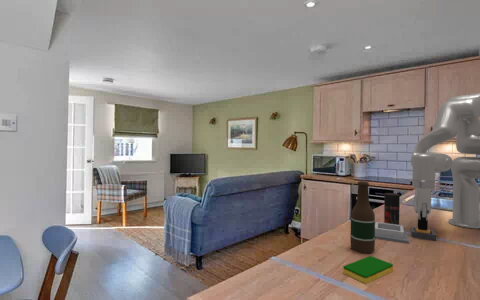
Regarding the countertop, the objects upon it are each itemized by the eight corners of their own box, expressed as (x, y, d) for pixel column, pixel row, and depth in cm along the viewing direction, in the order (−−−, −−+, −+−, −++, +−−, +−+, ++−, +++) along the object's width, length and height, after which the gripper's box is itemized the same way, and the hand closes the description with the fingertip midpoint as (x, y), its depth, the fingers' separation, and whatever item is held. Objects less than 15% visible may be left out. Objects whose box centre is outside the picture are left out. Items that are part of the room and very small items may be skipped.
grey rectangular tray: (372, 228, 118) (372, 220, 118) (406, 233, 111) (406, 224, 111) (369, 237, 106) (370, 228, 106) (408, 243, 99) (408, 234, 99)
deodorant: (401, 229, 116) (401, 195, 115) (386, 228, 117) (387, 195, 117) (396, 225, 122) (396, 193, 121) (382, 224, 123) (382, 192, 122)
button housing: (410, 231, 113) (410, 226, 113) (433, 234, 109) (433, 229, 109) (411, 237, 106) (411, 231, 106) (436, 240, 102) (436, 235, 102)
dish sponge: (342, 274, 76) (342, 266, 76) (370, 263, 84) (370, 255, 84) (365, 285, 70) (365, 276, 70) (393, 272, 78) (393, 264, 78)
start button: (414, 231, 111) (415, 226, 111) (429, 233, 109) (429, 228, 109) (415, 235, 107) (416, 230, 107) (431, 237, 104) (431, 232, 104)
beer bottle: (373, 247, 96) (373, 180, 95) (376, 255, 88) (377, 183, 88) (349, 244, 98) (350, 179, 98) (351, 252, 91) (351, 182, 90)
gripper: (411, 181, 116) (410, 223, 116) (413, 185, 103) (412, 233, 103) (432, 183, 112) (431, 226, 112) (437, 187, 99) (436, 236, 99)
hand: (422, 229), depth 108 cm, fingers closed
